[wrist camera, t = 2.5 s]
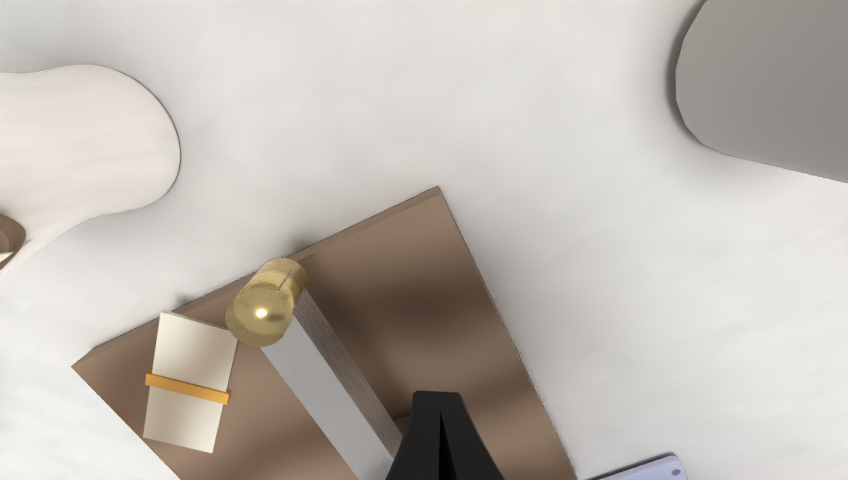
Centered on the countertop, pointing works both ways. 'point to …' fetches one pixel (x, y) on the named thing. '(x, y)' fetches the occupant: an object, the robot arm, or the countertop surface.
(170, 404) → the brown flat wooden board
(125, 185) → the beer glass
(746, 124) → the can
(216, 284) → the countertop surface
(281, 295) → the grey bar with knobs
